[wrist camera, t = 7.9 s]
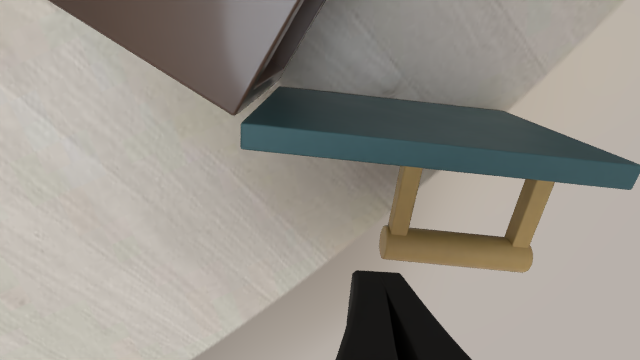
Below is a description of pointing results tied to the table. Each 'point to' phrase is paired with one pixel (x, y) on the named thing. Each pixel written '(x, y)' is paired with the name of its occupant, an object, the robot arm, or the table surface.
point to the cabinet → (206, 40)
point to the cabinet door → (436, 163)
